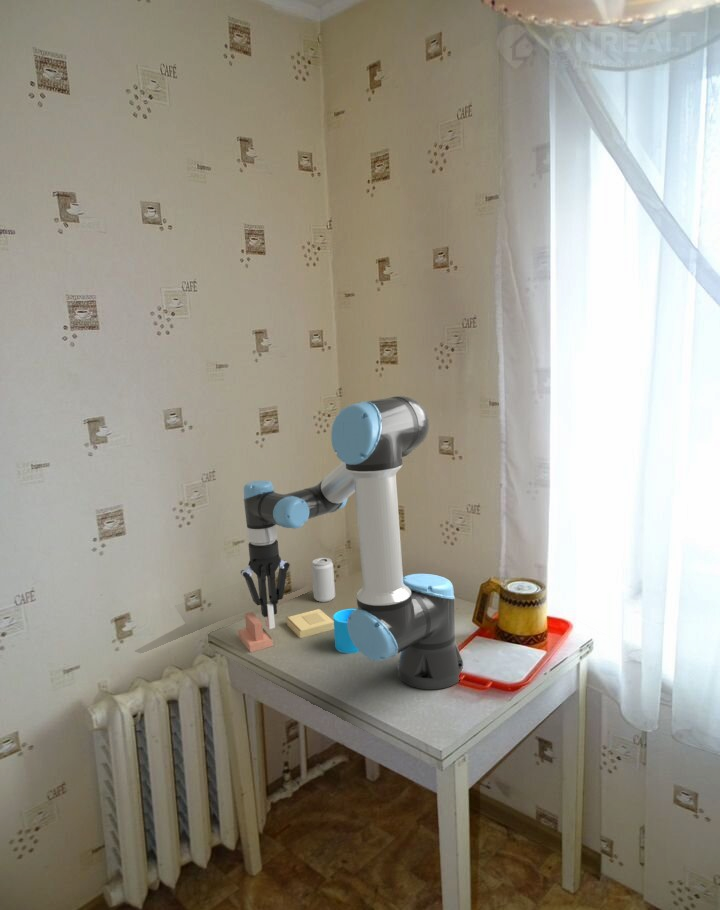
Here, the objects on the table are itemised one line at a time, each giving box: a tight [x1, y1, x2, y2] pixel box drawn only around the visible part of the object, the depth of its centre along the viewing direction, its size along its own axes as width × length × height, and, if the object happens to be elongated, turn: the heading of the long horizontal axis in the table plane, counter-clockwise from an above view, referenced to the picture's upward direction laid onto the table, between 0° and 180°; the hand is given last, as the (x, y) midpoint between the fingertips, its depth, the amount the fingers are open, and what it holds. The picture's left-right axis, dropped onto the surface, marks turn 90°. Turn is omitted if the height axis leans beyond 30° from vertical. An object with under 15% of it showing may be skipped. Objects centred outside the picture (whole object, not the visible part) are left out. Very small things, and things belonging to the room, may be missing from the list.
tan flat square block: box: [285, 608, 334, 639], centre depth 183 cm, size 10×10×2 cm
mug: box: [333, 608, 361, 654], centre depth 172 cm, size 12×8×8 cm
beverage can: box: [311, 557, 336, 603], centre depth 200 cm, size 6×6×12 cm
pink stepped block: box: [237, 611, 274, 653], centre depth 176 cm, size 10×6×6 cm, turn 27°
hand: (270, 626), depth 177 cm, fingers closed
